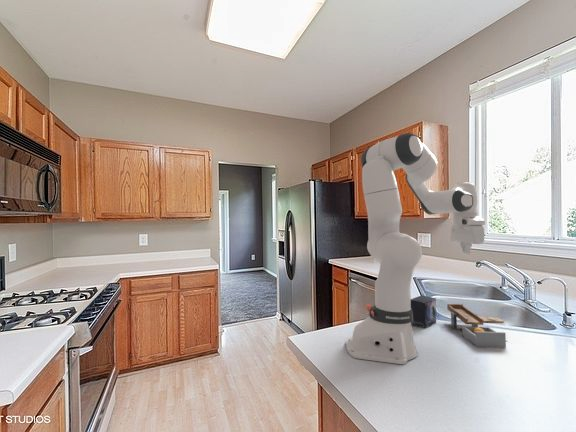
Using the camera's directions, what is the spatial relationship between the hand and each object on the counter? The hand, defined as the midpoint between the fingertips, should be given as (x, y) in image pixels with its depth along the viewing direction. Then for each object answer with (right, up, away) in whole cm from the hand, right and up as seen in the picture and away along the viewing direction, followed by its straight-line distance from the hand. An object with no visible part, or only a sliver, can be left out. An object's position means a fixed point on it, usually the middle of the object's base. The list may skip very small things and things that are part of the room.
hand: (466, 253), depth 118 cm
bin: (-7, -28, -20) cm, 36 cm away
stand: (-6, -29, -8) cm, 30 cm away
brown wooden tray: (-2, -24, -8) cm, 25 cm away
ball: (-7, -26, -18) cm, 32 cm away
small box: (-19, -29, -2) cm, 35 cm away
